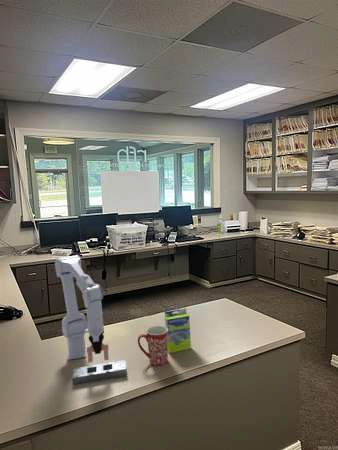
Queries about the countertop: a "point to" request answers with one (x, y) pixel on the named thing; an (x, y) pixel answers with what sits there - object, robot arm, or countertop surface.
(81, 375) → the gray slotted board
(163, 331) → the mug
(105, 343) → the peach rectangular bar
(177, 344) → the box
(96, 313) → the robot arm
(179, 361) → the countertop surface
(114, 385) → the countertop surface
